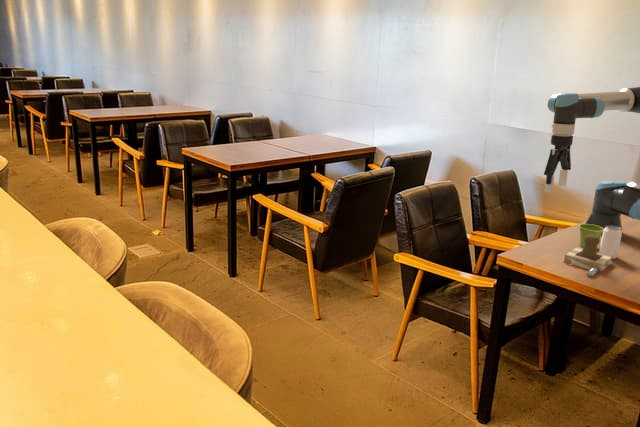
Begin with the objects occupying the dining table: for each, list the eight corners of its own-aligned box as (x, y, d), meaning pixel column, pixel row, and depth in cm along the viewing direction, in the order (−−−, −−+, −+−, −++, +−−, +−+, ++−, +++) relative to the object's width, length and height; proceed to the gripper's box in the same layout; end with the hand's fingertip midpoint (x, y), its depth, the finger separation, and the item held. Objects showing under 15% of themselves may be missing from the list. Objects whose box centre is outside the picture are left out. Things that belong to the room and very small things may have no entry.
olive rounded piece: (575, 260, 206) (580, 233, 202) (586, 259, 208) (592, 232, 205) (587, 266, 200) (593, 239, 197) (599, 265, 202) (605, 237, 199)
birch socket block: (575, 254, 213) (577, 246, 212) (611, 263, 204) (612, 256, 203) (563, 262, 204) (565, 254, 203) (600, 272, 195) (601, 265, 194)
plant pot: (585, 251, 216) (589, 231, 213) (570, 243, 225) (574, 223, 222) (605, 251, 218) (609, 230, 215) (589, 242, 227) (594, 223, 224)
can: (618, 260, 208) (625, 231, 205) (600, 258, 209) (607, 229, 206) (613, 254, 214) (619, 225, 211) (596, 252, 216) (602, 224, 212)
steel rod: (595, 268, 199) (596, 263, 198) (600, 270, 197) (601, 265, 197) (585, 276, 192) (586, 270, 191) (591, 277, 190) (592, 272, 190)
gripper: (564, 130, 215) (558, 181, 221) (539, 137, 198) (532, 193, 204) (584, 132, 210) (576, 184, 216) (559, 139, 193) (552, 196, 199)
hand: (555, 189), depth 210 cm, fingers open, 13 cm apart
